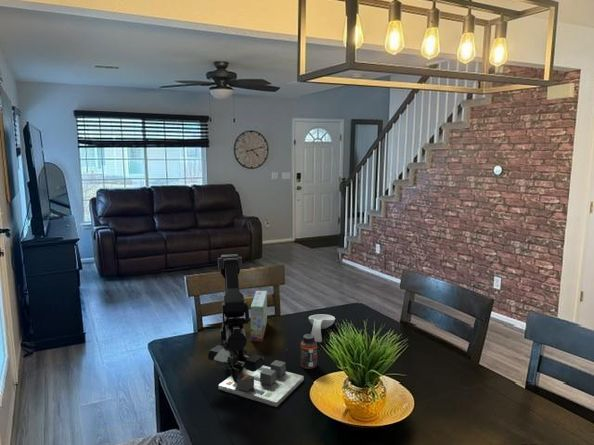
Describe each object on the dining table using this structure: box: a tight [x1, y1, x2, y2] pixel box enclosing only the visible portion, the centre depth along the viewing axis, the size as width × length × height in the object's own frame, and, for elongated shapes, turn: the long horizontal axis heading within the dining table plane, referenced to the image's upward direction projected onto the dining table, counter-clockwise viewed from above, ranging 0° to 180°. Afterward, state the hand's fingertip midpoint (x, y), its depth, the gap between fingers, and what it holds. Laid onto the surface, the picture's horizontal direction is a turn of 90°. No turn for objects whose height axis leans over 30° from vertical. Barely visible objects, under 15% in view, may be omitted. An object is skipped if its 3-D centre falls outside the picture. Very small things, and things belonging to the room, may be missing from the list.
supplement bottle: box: [300, 333, 318, 370], centre depth 161 cm, size 6×6×11 cm
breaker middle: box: [260, 368, 276, 386], centre depth 147 cm, size 4×4×4 cm
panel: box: [218, 365, 305, 408], centre depth 149 cm, size 22×18×2 cm
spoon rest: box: [308, 313, 336, 343], centre depth 192 cm, size 24×12×7 cm, turn 170°
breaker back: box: [269, 359, 287, 377], centre depth 153 cm, size 4×4×4 cm
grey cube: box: [237, 374, 254, 392], centre depth 143 cm, size 4×4×4 cm
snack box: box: [250, 290, 268, 342], centre depth 191 cm, size 21×6×15 cm, turn 179°
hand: (236, 382), depth 145 cm, fingers closed
